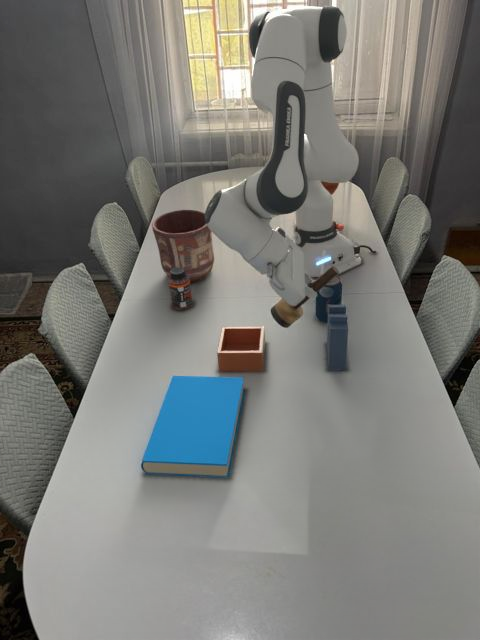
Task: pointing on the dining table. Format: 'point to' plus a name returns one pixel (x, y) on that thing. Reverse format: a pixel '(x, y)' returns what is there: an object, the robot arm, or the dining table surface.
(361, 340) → the dining table surface
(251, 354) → the caddy
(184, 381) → the book
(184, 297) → the supplement bottle
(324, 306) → the soda can
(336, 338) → the stand
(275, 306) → the brush
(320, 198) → the robot arm
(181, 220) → the pottery
